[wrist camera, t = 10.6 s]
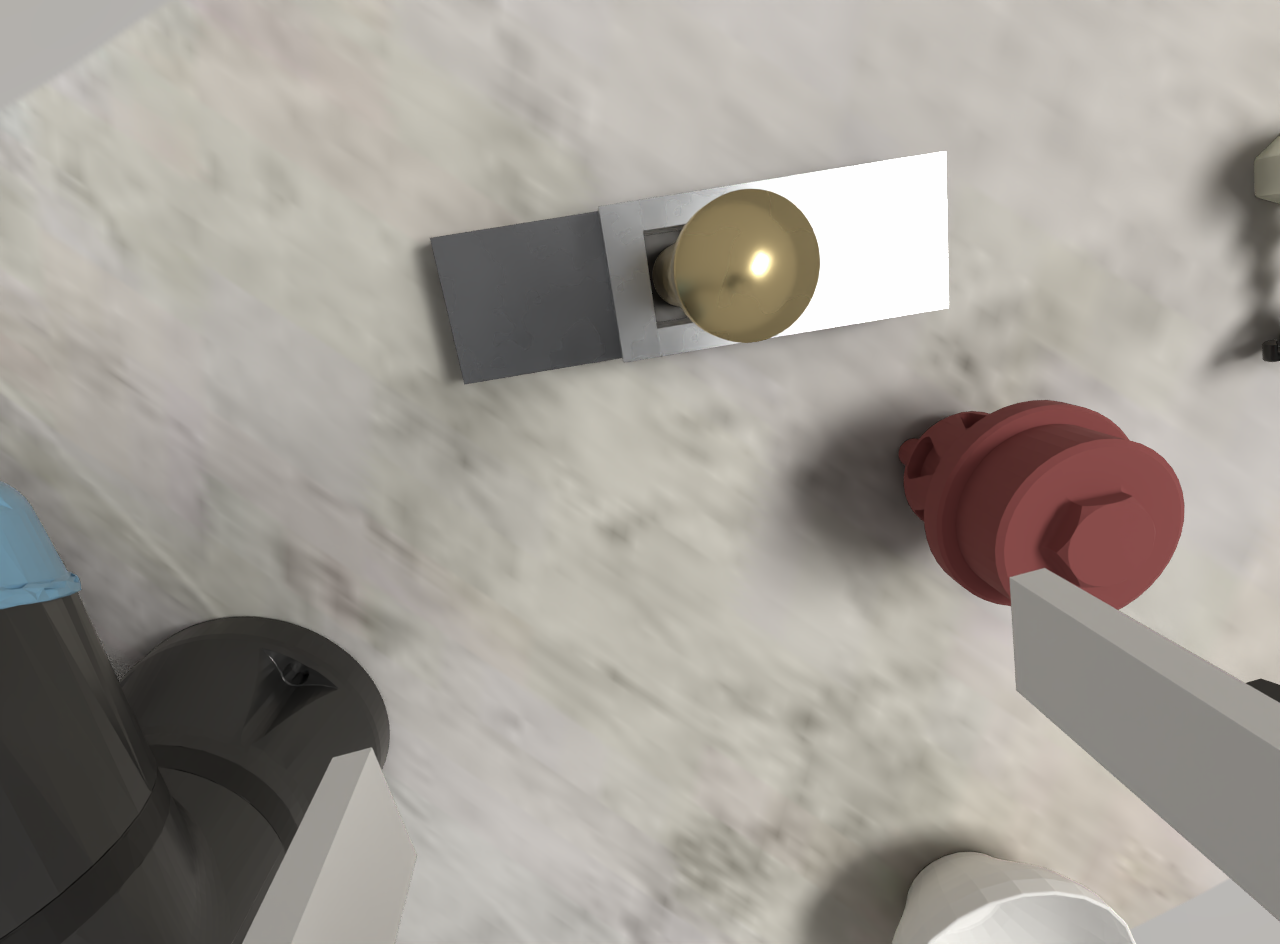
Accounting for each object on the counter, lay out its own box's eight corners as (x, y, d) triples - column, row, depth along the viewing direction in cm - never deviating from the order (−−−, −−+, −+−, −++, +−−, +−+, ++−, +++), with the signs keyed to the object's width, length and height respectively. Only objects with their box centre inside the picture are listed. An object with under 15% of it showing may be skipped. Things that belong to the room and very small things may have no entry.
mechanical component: (981, 563, 40) (837, 516, 38) (1059, 412, 38) (910, 355, 36) (1147, 679, 28) (950, 618, 27) (1276, 469, 26) (1070, 389, 24)
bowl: (805, 918, 47) (842, 1023, 40) (958, 765, 44) (1025, 850, 38) (953, 1002, 51) (1010, 1111, 44) (1103, 865, 48) (1188, 960, 41)
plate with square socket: (471, 378, 34) (457, 390, 31) (439, 240, 32) (419, 234, 29) (909, 305, 35) (948, 308, 31) (904, 166, 33) (945, 151, 29)
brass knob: (646, 326, 34) (685, 353, 21) (632, 235, 33) (665, 201, 20) (731, 312, 35) (825, 330, 21) (720, 221, 33) (814, 177, 20)
